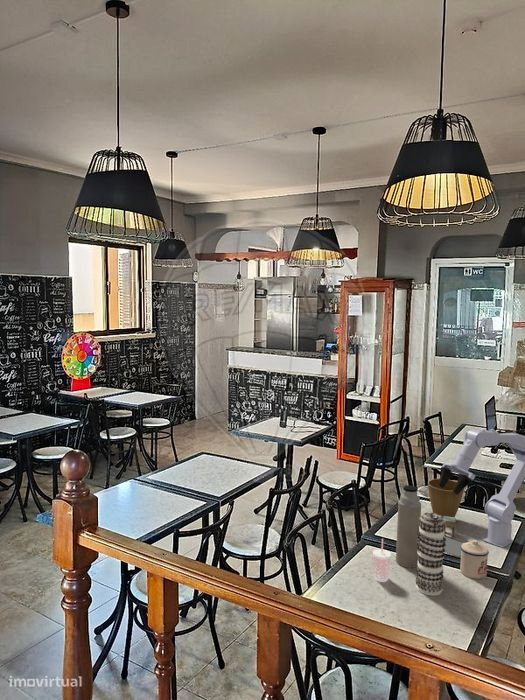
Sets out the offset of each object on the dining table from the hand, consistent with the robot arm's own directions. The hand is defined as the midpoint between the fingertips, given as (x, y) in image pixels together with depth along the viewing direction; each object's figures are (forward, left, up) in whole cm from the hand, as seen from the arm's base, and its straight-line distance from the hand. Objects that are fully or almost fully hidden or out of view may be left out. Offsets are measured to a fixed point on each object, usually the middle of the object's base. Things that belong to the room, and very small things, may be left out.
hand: (447, 490), depth 200 cm
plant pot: (-28, -17, -25) cm, 41 cm away
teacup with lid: (+5, +14, -25) cm, 29 cm away
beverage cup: (+35, -4, -25) cm, 43 cm away
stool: (-16, -8, -24) cm, 30 cm away
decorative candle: (+28, +10, -25) cm, 38 cm away
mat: (-6, -1, -24) cm, 25 cm away
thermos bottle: (+18, -5, -25) cm, 31 cm away
